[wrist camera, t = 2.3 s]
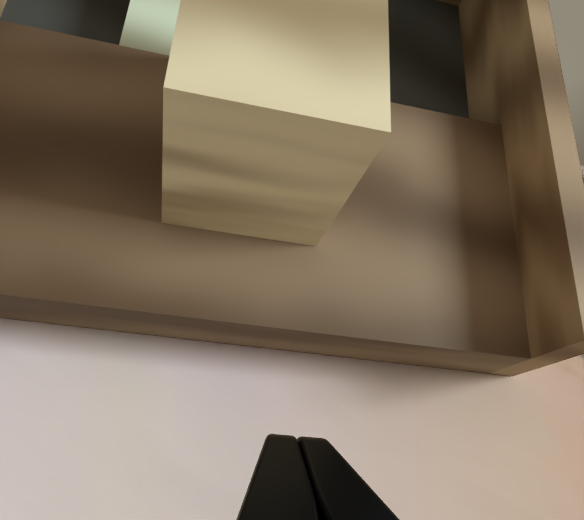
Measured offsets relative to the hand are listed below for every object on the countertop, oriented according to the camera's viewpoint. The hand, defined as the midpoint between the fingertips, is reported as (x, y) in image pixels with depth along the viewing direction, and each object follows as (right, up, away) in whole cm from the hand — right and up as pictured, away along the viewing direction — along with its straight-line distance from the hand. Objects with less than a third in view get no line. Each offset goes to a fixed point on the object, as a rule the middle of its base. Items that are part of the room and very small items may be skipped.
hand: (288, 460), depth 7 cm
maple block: (-2, +7, +15) cm, 16 cm away
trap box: (-2, +11, +19) cm, 22 cm away
